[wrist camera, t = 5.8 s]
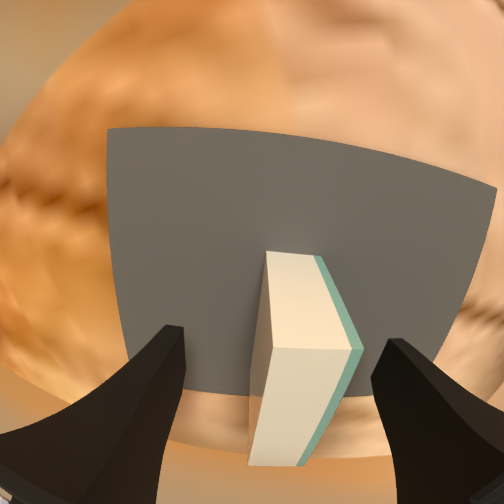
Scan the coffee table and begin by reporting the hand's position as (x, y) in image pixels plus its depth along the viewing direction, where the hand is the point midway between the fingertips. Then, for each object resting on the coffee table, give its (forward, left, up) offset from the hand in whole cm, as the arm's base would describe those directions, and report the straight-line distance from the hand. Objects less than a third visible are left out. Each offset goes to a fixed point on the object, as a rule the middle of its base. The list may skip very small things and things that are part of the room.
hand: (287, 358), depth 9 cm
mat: (-1, -1, -3) cm, 3 cm away
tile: (0, 0, -2) cm, 2 cm away
